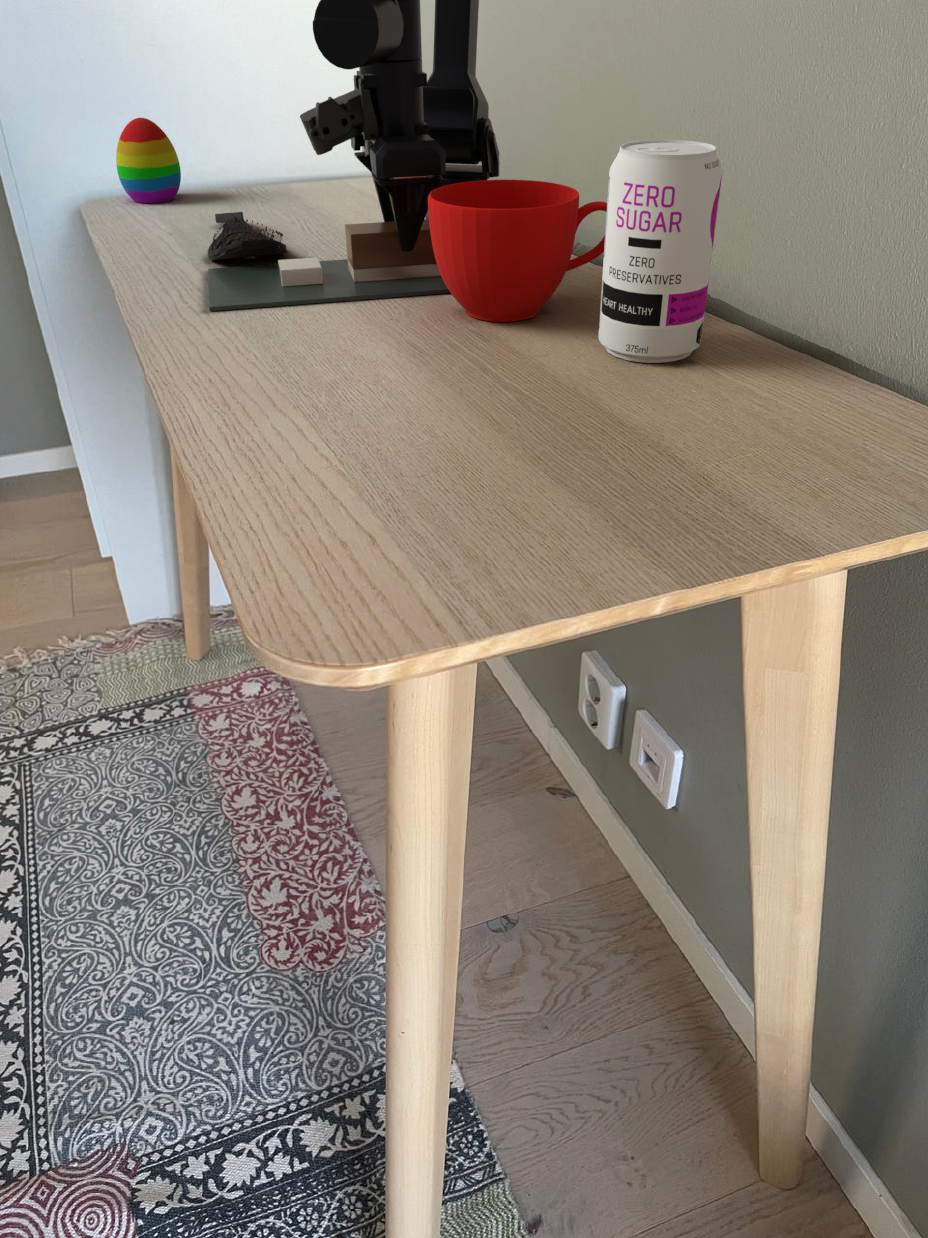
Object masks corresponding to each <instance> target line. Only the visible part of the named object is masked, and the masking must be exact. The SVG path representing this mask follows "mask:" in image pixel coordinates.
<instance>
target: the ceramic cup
mask: <svg viewBox="0 0 928 1238" xmlns="http://www.w3.org/2000/svg"><path fill="white" fill-rule="evenodd" d="M598 211H604V212H606V213H607V201H602V200H601V201H600V200H597V201H590V202H588V203H586V204H584V205H582V206H580V192H579V191H578V190H577V189H576V188H573V187H571V186H568V185H564V184H559V183H555V182H548V181H543V180H531V179H487V180H481V181H469V182H461V183H455V184H450V185H446V186H442V187H439V188H436V189H434V190H433V191H431V192H430V194H429V196H428V214H429V224H430V233H431V240H432V246H433V251H434V255H435V259H436V262H437V266H438V269H439V272H440V274H441V277H442V279H443V281H444V283H445V285H446V287H447V288H448V290H449V291H450V293H449V294H451V295H452V297H453V298H454V299H455V300H456V302H457V303H458V304H459V305H460V306H461V307H462V308H463V309H464V310H465V313H466V315H468V316H469V317H471V318H474V319H477V320H481V321H487V322H496V323H497V322H498V323H505V322H518V321H524V320H527V319H531V318H533V317H535V316H536V315H538V313H539V312H540V310H541V309H542V307H544V305H546V303H547V302H548V301H549V300H550V299H551V297H552V296H553V295H554V293H555V292H556V291H557V289H558V288H559V286H560V285H561V283H562V281H563V279H564V278H565V275H566V273H567V272H569V271H572V270H574V269H577V268H579V267H581V266H584V265H586V264H588V263H590V262H592V261H594V260H595V259H597V258H598V257H600V256H601V255H602V254H604V246H605V235H604V236H603V237H602V238H601V240H600V241H599V242H598V243H597V244H596V245H595V246H594V247H593V248H591V249H590V250H588V251H586V252H585V253H583V254H581V255H579V256H577V257H574V258H572V253H573V249H574V245H575V240H576V234H577V232H578V228H579V226H580V224H581V223H582V221H583V220H584V219H585V218H587V216H588V215H591V214H592V213H594V212H598Z"/></svg>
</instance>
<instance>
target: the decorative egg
mask: <svg viewBox="0 0 928 1238" xmlns="http://www.w3.org/2000/svg"><path fill="white" fill-rule="evenodd" d="M115 163H116V171H117V176H118V180H119V182H120V184H121V187H122V188H123V190H124V191H125V193H126V194H127V195H128V196H129V198H130V199H131V200H132V201H134V202H135V203H140V204H159V203H160V204H161V203H166V202H170V201H173V200H174V199H175V198H176V196H177V195H178V192H179V190H180V186H181V180H182V179H181V178H182V172H181V166H180V165H181V164H180V160H179V157H178V154H177V151H176V149H175V147H174V145H173V143H172V141H171V139H170V138H169V136H168V135H167V134H166V133H165V131H164V130H163V129H162V128H161V127H160V126H159V125H158V124H157V123H156V122H154V121H152V120H150V119H149V118H145V117H135V118H134V119H133V118H132V120H130V121H129V122H128V123H127V124H126V125H125V126H124V128H123V130H122V132H121V134H120V135H119V138H118V141H117V146H116V153H115Z"/></svg>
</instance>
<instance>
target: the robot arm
mask: <svg viewBox="0 0 928 1238" xmlns="http://www.w3.org/2000/svg"><path fill="white" fill-rule="evenodd" d="M479 5H480V0H434V27H433V28H434V29H433V57H432V58H433V59H432V60H433V61H432V72H431V74H430V76H429V77H428V73H427V72H424V71H423V55H422V54H423V51H422V50H423V49H422V21H421V20H422V17H421V0H319V1H318V3H317V6H316V8H315V11H314V15H313V16H314V17H313V20H312V33H313V37H314V41H315V44H316V46H317V48H318V50H319V52H320V53H321V55H322V56H323V57H324V59H325V60H326V61H328V62H329V63H330V64H331V65H332V66H335V67H337V68H339V69H342V70H354V69H359V70H356V74H353V88H354V89H353V90H351V91H349V92H346V93H344V94H340V95H339V96H336V97H332V96H328V97H327V99H326V100H324V101H322V102H319V101H318V102H316V103H315V107H313V108H311V109H309V110H306V111H304V112H303V113H301V114H300V115H299V119H300V121H301V123H302V126H303V128H304V130H305V133H306V135H307V137H308V140H309V141H310V145H311V147H312V149H313V151H314V152H315V154H316V155H317V156H320V155H324V154H326V153H329V152H331V151H332V150H333V149H334V147H336V146H338V145H340V144H343V143H345V142H347V141H349V140H350V146H351V149H352V150H353V151H354V153H353V154H354V156H355V157H356V159H357V160H358V161H359V162H360V163H361V165H363V167H365V168H366V169H367V170H368V171H369V172H370V174H371V177H372V181H373V184H374V188H375V192H376V196H377V199H378V204H379V207H380V211H381V215H382V219H383V222H394V221H395V225H396V230H397V234H398V239H399V243H400V248H401V250H402V251H403V252H407V251H412V250H413V249H414V246H415V243H416V240H417V238H418V235H419V232H420V230H421V227H422V224H423V222H424V220H426V219H429V214H428V196H429V194H430V192H431V191H433V190H434V189H436V188H439V187H442V186H446V185H450V184H455V183H461V182H469V181H481V180H490V179H491V178H497V177H500V150H499V146H498V143H497V138H496V134H495V131H494V127H493V124H492V120H491V119H490V118H489V116H490V115H489V111H490V110H489V107H490V106H489V101H488V100H487V98H486V96H485V93H484V91H483V89H482V88H481V85H480V83H479V81H478V79H477V76H476V75H477V52H478V51H477V50H478V30H479V28H478V27H479ZM361 150H362V151H361ZM355 151H357V152H355ZM480 163H481V164H480Z"/></svg>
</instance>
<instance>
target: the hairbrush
mask: <svg viewBox="0 0 928 1238" xmlns="http://www.w3.org/2000/svg"><path fill="white" fill-rule="evenodd" d="M214 218H215V219H214V221H215V223H216V224H224V225H223V226H222V227H223V228H222V227H218V230H217V231H216V232H215V233H214V234H213V237H212V243H210V245H209V247H208V249H207V257H208V260H209V261H216V260H227V259H238V258H249V257H250V258H251V257H259V256H270V255H271V256H274V255H278V254H288V251H287V245H286V244H284V243H283V242H282V239H283V237H284V234H283V233H282V232H280V231H277V230H275V231H274V229H271V228H269V231H271V233H270V232H268V226H265V227H264V228H265V229H264V228H263V229H262V228H261V229H260V227H259V226H258V225H259V222H257V223H256V224H257V226H258V227H256V228H253V225H251V226H250V224H249V223H248V222H249V219H245V218H244V213H243V211H233V212H222V213H215V214H214ZM253 223H254V220H251V224H253ZM263 226H264V225H263V223H261V227H263ZM220 231H221V232H220ZM276 235H277V236H276ZM275 237H276V238H275ZM277 239H278V240H277Z"/></svg>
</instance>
